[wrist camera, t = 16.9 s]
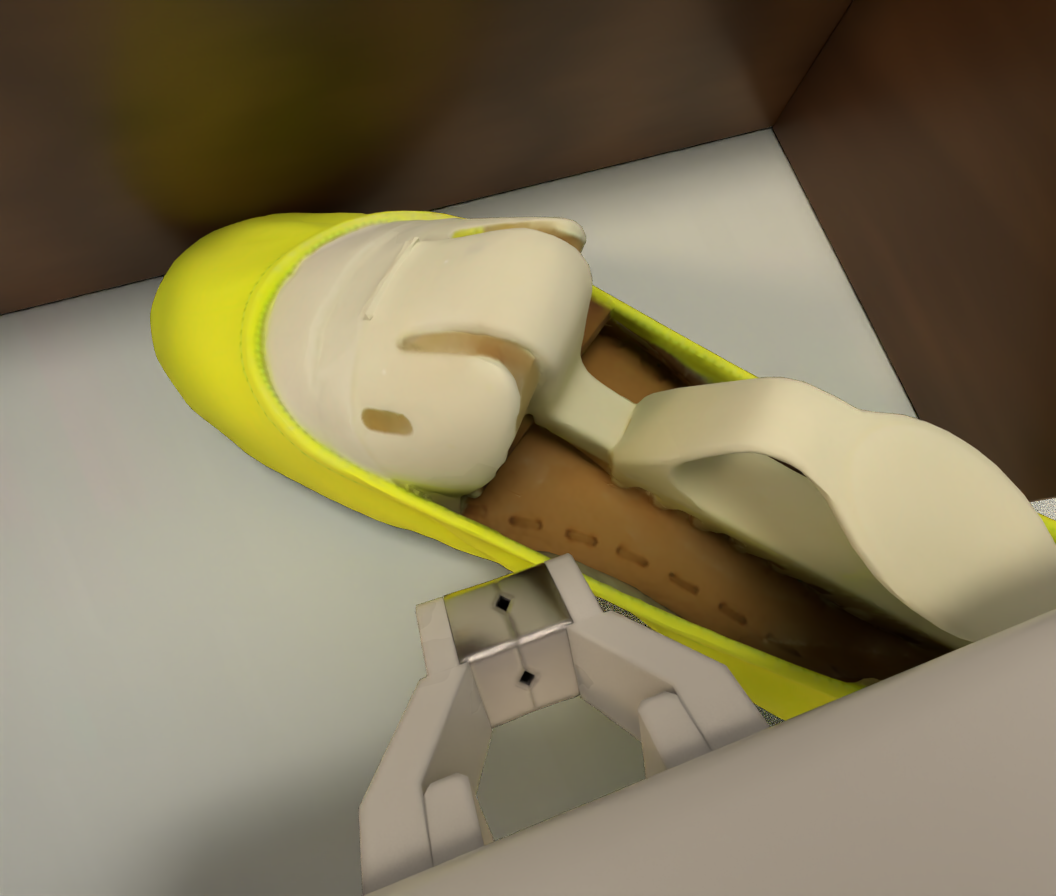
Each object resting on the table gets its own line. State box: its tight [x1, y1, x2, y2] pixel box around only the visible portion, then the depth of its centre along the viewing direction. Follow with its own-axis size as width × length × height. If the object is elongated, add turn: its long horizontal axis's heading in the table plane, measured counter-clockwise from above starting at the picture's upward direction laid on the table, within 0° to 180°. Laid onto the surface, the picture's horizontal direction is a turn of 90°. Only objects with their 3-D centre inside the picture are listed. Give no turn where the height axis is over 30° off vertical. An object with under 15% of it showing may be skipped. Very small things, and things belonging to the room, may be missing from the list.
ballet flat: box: [150, 211, 1056, 721], centre depth 13 cm, size 8×24×8 cm, turn 63°
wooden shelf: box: [0, 0, 1056, 502], centre depth 12 cm, size 32×16×11 cm, turn 109°
